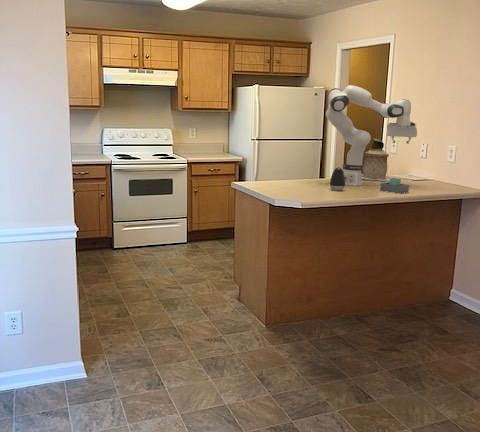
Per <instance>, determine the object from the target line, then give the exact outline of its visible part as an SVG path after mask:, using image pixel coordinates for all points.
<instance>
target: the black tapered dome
mask: <svg viewBox="0 0 480 432" xmlns="http://www.w3.org/2000/svg"><path fill="white" fill-rule="evenodd" d="M345 186H346V185H345V176H344V172H343V168H341V167H339V166H338V167H336V168H334V170H333V171H332V174H331V176H330V180H329V188H330V189H331V190H332V191H337V192H339V191H340V192H341V191H343V190H344V189H345Z"/></svg>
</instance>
